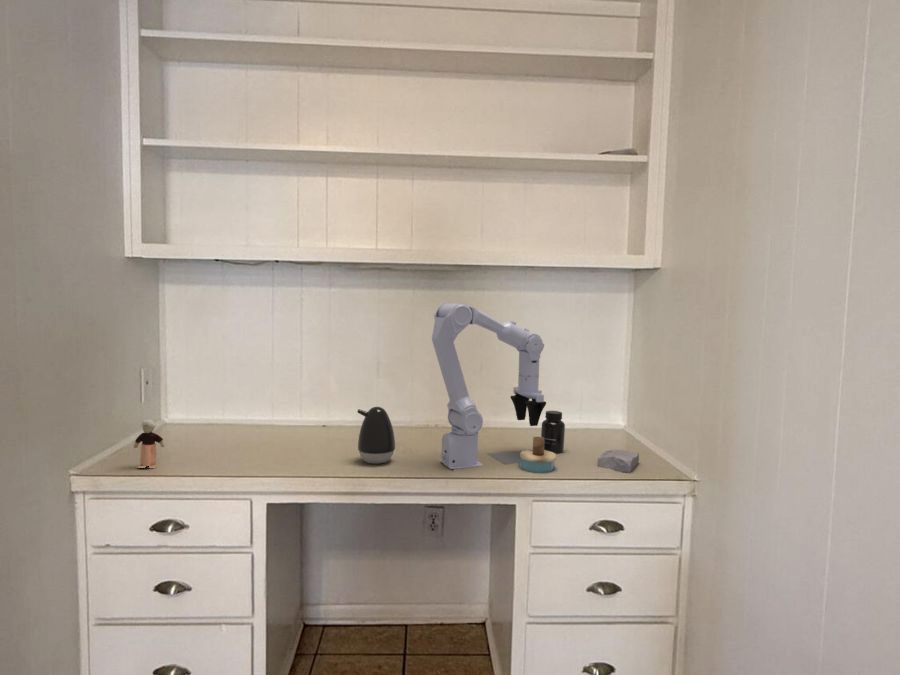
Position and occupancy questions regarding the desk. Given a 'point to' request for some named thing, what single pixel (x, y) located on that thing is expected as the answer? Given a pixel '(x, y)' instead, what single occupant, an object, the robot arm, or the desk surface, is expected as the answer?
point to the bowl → (536, 466)
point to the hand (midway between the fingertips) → (527, 422)
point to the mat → (507, 457)
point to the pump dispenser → (376, 436)
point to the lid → (538, 452)
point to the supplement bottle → (553, 432)
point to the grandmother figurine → (148, 443)
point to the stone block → (619, 460)
